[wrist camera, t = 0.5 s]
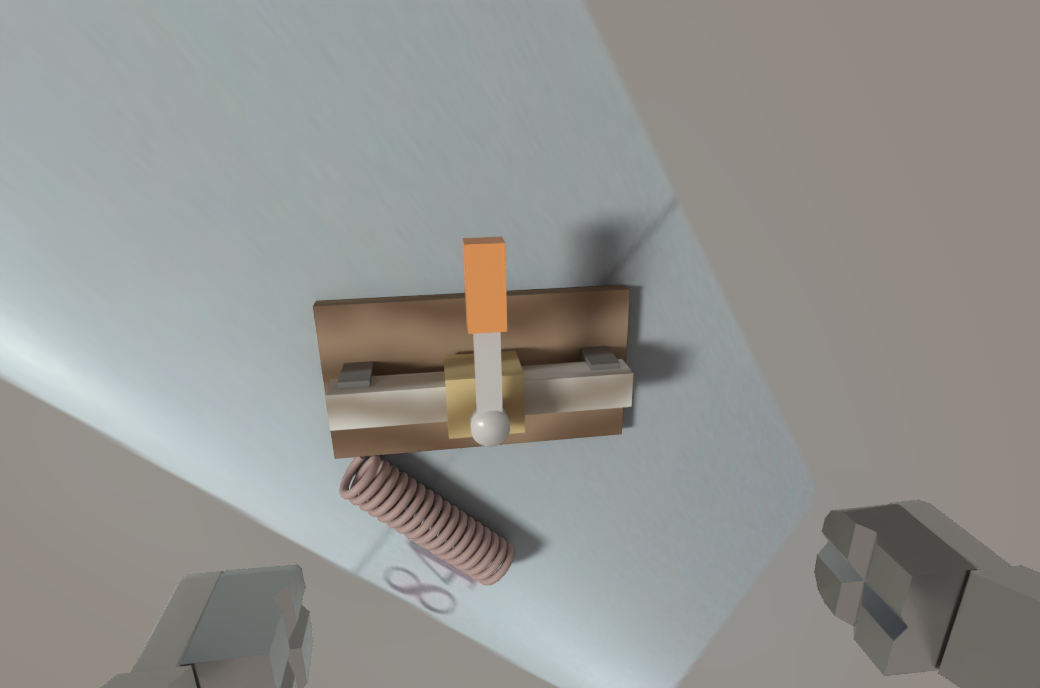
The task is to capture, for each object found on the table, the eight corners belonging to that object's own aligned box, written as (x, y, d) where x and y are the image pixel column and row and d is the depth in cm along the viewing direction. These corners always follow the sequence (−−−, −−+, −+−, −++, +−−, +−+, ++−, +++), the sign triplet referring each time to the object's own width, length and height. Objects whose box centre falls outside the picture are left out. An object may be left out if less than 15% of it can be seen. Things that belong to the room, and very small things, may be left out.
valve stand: (315, 300, 49) (292, 341, 41) (624, 284, 53) (663, 319, 44) (336, 449, 54) (320, 513, 46) (617, 426, 58) (650, 481, 49)
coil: (522, 564, 57) (367, 462, 51) (490, 599, 57) (332, 503, 51) (512, 535, 61) (368, 438, 55) (482, 568, 62) (336, 476, 55)
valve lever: (460, 238, 40) (462, 244, 38) (503, 236, 40) (506, 242, 38) (470, 436, 45) (472, 450, 43) (507, 433, 46) (511, 446, 44)
